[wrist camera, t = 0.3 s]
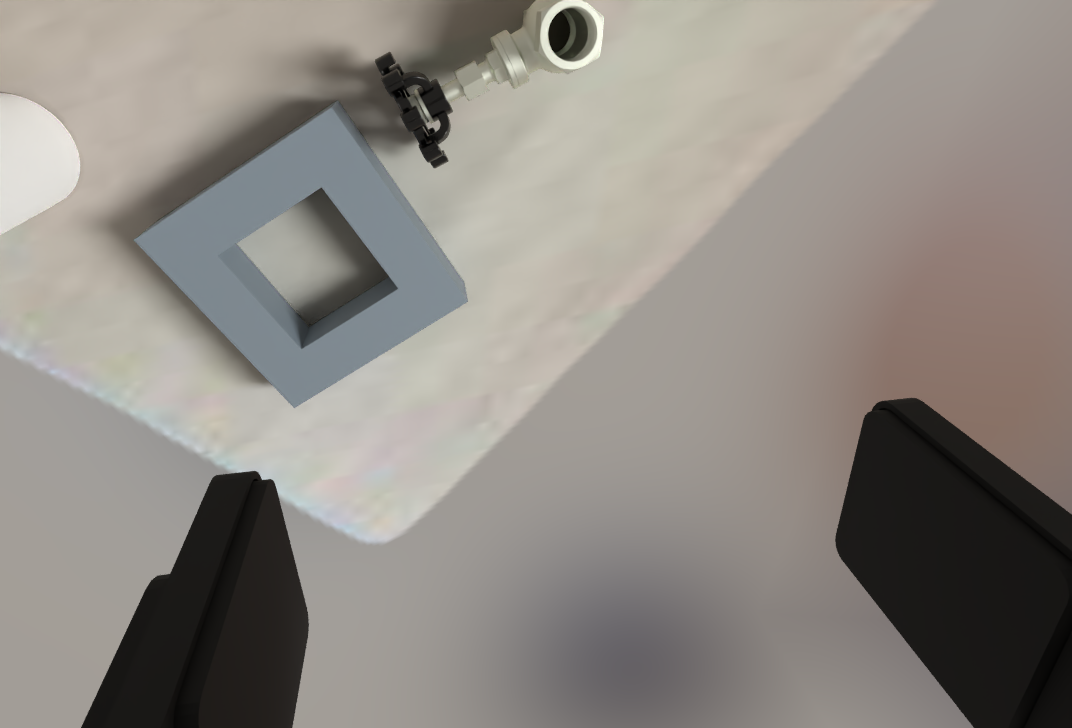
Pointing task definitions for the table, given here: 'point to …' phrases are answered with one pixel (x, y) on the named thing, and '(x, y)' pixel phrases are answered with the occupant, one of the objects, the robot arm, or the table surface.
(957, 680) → the robot arm
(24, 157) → the can
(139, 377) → the table surface
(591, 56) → the valve
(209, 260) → the socket block
